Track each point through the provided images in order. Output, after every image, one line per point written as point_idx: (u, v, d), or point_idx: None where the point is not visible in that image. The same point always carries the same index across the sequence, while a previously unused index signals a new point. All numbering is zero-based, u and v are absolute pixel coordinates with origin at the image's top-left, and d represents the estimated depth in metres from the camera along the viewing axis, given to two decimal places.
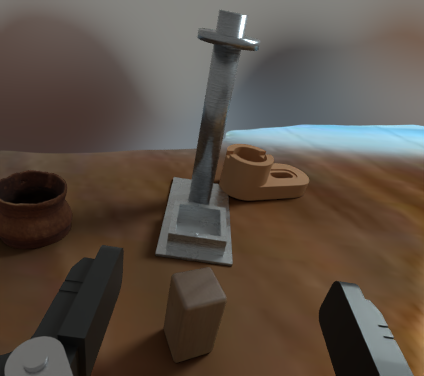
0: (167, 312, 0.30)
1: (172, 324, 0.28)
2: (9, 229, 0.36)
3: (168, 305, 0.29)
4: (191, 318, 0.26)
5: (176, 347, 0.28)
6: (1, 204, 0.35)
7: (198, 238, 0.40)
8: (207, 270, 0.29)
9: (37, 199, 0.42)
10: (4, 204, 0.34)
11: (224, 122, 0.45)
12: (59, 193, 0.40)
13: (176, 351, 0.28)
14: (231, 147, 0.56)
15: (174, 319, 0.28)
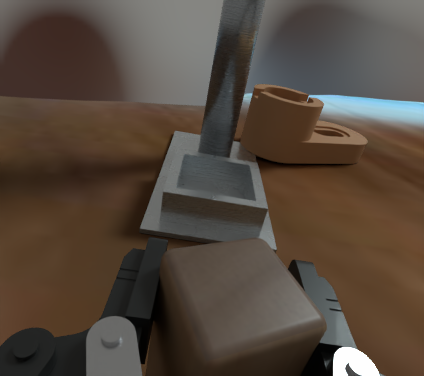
0: (151, 351, 0.12)
1: None
2: None
3: (154, 334, 0.11)
4: None
5: None
6: None
7: (217, 202, 0.22)
8: (256, 244, 0.11)
9: None
10: None
11: (258, 19, 0.27)
12: None
13: None
14: (260, 86, 0.38)
15: None
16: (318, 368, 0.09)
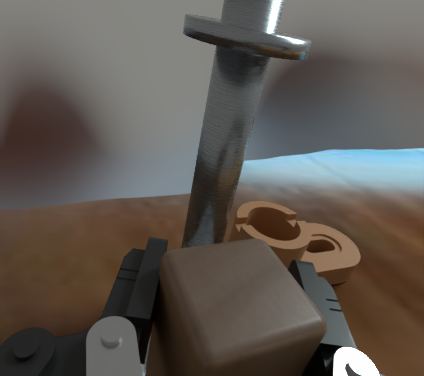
0: (151, 352, 0.12)
1: None
2: None
3: (153, 335, 0.11)
4: None
5: None
6: None
7: None
8: (256, 244, 0.11)
9: None
10: None
11: (234, 188, 0.25)
12: None
13: None
14: (243, 209, 0.35)
15: None
16: (318, 368, 0.09)
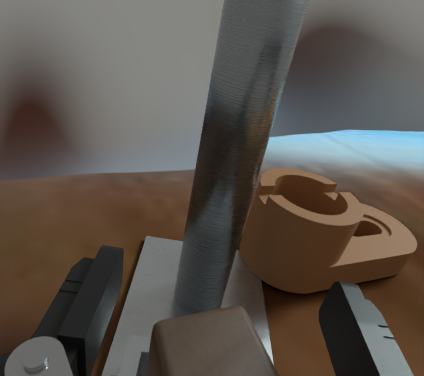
0: None
1: None
2: None
3: None
4: None
5: None
6: None
7: None
8: (236, 313, 0.13)
9: None
10: None
11: (271, 121, 0.16)
12: None
13: None
14: (268, 177, 0.26)
15: None
16: None
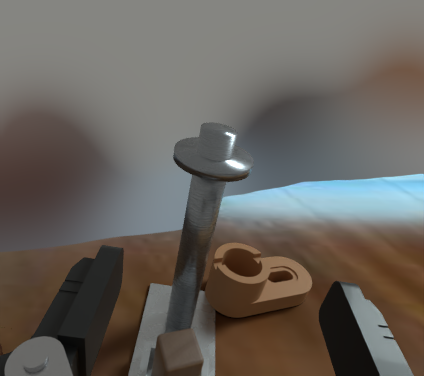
0: (153, 366, 0.34)
1: None
2: None
3: (154, 360, 0.33)
4: None
5: None
6: None
7: None
8: (189, 331, 0.33)
9: None
10: None
11: (208, 247, 0.36)
12: None
13: None
14: (220, 251, 0.47)
15: (158, 375, 0.32)
16: None
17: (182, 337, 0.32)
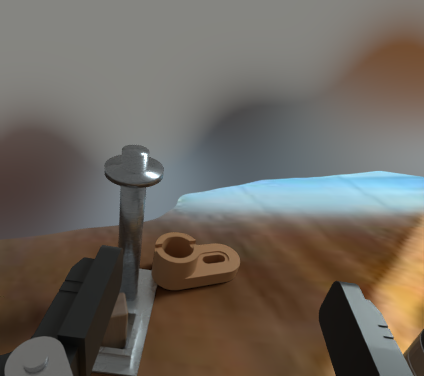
0: None
1: None
2: None
3: None
4: None
5: None
6: None
7: (104, 353, 0.44)
8: (120, 294, 0.46)
9: None
10: None
11: (139, 234, 0.49)
12: None
13: None
14: (161, 238, 0.59)
15: None
16: None
17: None
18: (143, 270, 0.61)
